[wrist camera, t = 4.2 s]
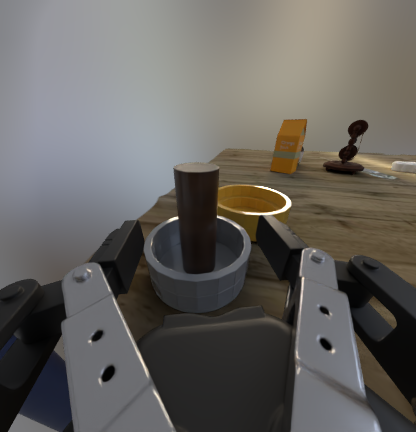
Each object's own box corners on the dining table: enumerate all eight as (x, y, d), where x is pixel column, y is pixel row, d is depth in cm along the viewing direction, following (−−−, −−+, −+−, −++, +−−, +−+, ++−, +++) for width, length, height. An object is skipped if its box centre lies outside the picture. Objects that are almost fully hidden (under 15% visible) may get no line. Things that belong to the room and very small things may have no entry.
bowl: (261, 257, 23) (268, 226, 21) (195, 221, 32) (194, 196, 30) (294, 221, 33) (302, 196, 30) (236, 201, 42) (238, 180, 39)
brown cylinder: (198, 283, 19) (194, 174, 13) (176, 264, 21) (164, 166, 15) (221, 263, 22) (228, 166, 15) (199, 248, 24) (197, 160, 18)
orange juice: (290, 174, 67) (304, 118, 57) (270, 170, 72) (280, 119, 62) (295, 170, 72) (309, 119, 62) (276, 167, 77) (286, 120, 67)
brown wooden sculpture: (360, 177, 64) (388, 118, 54) (318, 170, 72) (336, 119, 63) (362, 170, 73) (386, 120, 63) (325, 166, 82) (341, 121, 72)
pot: (196, 343, 14) (194, 310, 12) (134, 267, 22) (125, 238, 19) (263, 265, 22) (270, 237, 20) (200, 230, 30) (200, 206, 27)
